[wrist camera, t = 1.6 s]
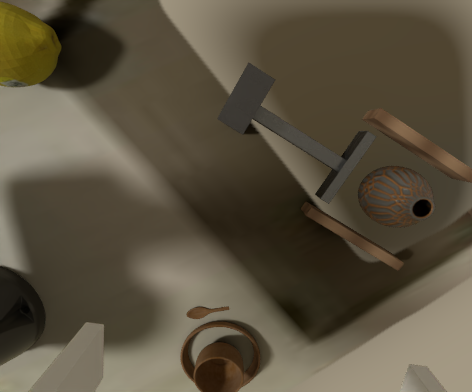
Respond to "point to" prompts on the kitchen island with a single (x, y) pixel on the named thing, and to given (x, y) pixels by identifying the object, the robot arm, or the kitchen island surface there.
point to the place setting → (218, 359)
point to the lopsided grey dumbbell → (289, 129)
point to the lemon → (25, 48)
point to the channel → (416, 146)
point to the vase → (396, 196)
